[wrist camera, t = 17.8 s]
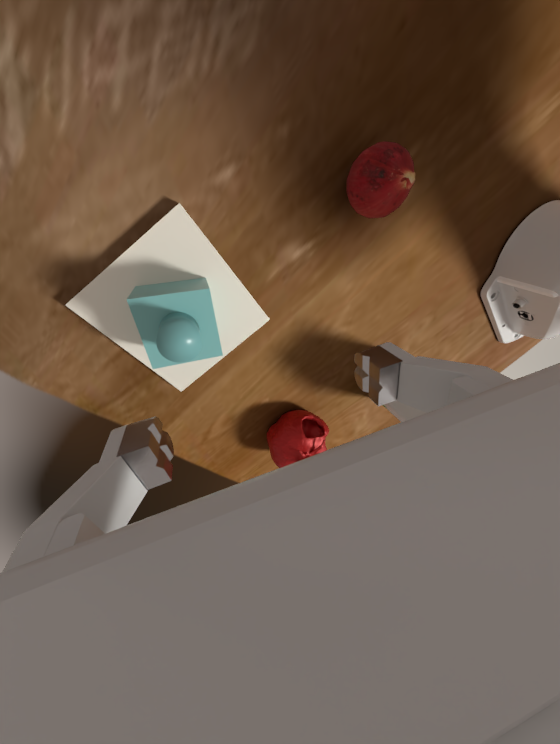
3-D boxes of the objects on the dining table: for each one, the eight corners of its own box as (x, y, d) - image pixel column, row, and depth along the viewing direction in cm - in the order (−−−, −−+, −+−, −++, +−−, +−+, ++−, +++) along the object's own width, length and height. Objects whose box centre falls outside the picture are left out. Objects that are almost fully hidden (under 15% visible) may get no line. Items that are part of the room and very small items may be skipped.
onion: (324, 206, 27) (368, 203, 21) (346, 139, 25) (403, 112, 19) (366, 225, 30) (417, 228, 23) (389, 166, 27) (454, 150, 21)
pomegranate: (281, 457, 46) (300, 505, 38) (250, 427, 40) (266, 477, 32) (327, 426, 45) (356, 468, 38) (303, 391, 40) (332, 432, 32)
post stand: (267, 316, 32) (278, 330, 28) (181, 386, 33) (181, 409, 29) (179, 203, 24) (179, 201, 20) (69, 301, 25) (48, 317, 21)
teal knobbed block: (135, 286, 25) (118, 310, 18) (205, 277, 26) (212, 297, 20) (156, 347, 28) (149, 386, 22) (217, 337, 30) (227, 370, 23)
